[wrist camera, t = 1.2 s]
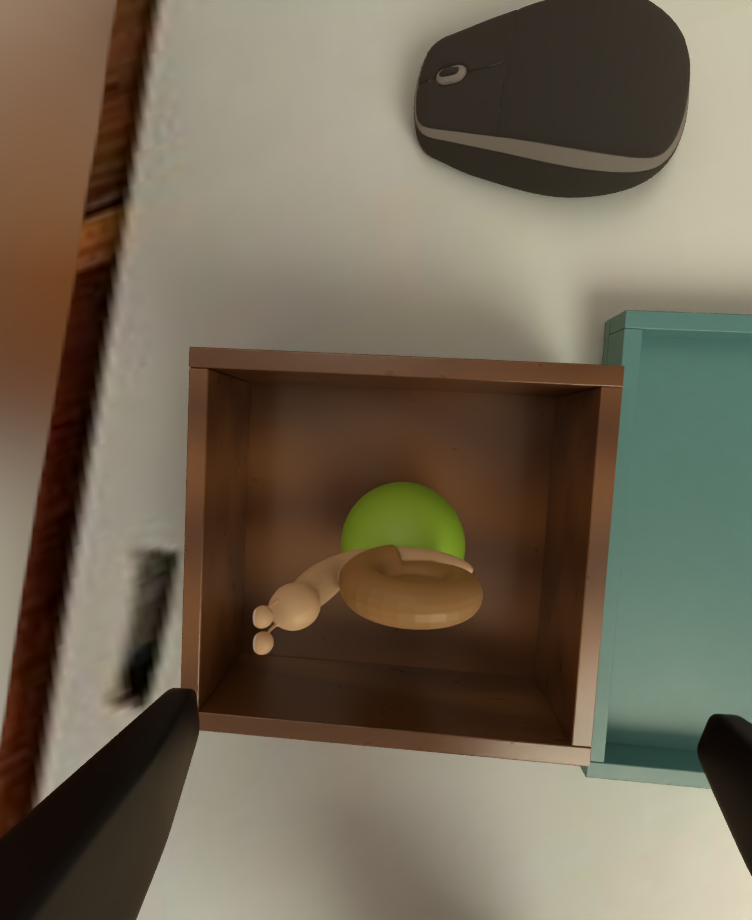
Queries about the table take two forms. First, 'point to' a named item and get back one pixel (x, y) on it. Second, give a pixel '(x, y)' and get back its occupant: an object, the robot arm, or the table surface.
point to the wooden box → (319, 537)
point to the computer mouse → (558, 97)
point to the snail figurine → (386, 568)
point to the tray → (676, 545)
